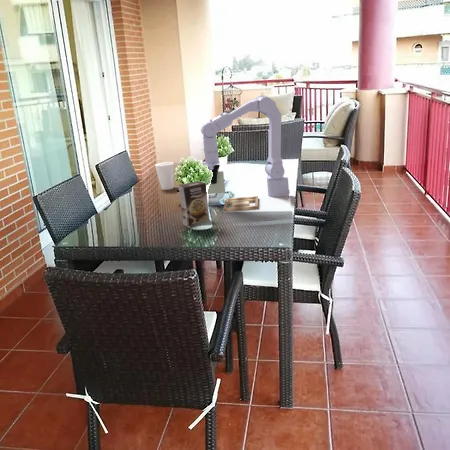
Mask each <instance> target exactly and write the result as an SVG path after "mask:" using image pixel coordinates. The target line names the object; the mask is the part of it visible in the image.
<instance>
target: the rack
mask: <svg viewBox="0 0 450 450" xmlns="http://www.w3.org/2000/svg"><path fill="white" fill-rule="evenodd" d="M242 201H249V204H250V203H251V204H252V203H255V204H254V205H252V206H251V205H249V206H244V207H232V206H229V207H228V205H232V202H242ZM222 209H223V212H233V211H236V212H237V211H249V210H258V209H259V196H258V195H257V196H256V195H255V196H241V197H230V198H225V201H224V204H223V207H222Z"/></svg>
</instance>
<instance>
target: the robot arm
mask: <svg viewBox="0 0 450 450" xmlns="http://www.w3.org/2000/svg"><path fill="white" fill-rule="evenodd" d="M249 112H259V113H262V114H263V116H265V117H266V118H267V119H268V121H269V122H268V157H267V160H266V161H267V162H266V165H265V167H264V171H265V173H266V174H267V177H266V183H267V186H266V187H267V196H268V197H270V198H279V197H287V199H290V193H291V192H290V189H289V188H290V187H289V177H288V176H287V177H285V176H284V175H285V167H284V166H283V164H284V163H283V160H282V157H281V153H282V149H281V148H282V113H281V111H280V109H279V108H278V106H277V104H276V102H275V100H273V99H272V98H271V97H269V96H261V95H260V96H257V97H256V98H252V99H250V100H249V101H247V102H245V103H244V104H242V105H241V106H239V107H237V108H235V109H234V110H233V111H231V112H220V113H219V115H218V116H216V117H214V118H210V119H209V121H207V122H204V123H203V124H202V126H201V128H200V132H201V134H202V140H203V143H202V144H203V151H204V152H203V153H204V160H205V161H203V162H202V165H206V167H207V166H208V169H209V170H212V172H213V177H212V180H211V184H216V183H217V173H218V172H219V169H220V166H221V165H220V160H219V159H220V157H219V149H218V148H219V147H218V140H217V133H220V132H221V131H223V130H225V129H226V128H228V127H230V126H232V125H233V122H234V120H236V119H239V118H240V117H243V116H244V115H246V114H248V113H249Z"/></svg>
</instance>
